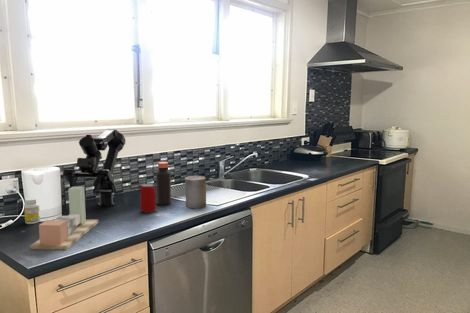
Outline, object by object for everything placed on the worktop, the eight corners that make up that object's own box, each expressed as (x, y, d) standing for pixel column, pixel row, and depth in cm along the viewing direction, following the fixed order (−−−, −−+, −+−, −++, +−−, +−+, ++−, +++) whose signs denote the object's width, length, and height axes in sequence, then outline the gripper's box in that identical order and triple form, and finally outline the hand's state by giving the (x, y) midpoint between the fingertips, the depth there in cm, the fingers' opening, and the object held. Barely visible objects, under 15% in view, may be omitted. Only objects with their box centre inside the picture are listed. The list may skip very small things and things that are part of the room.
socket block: (47, 238, 128) (46, 220, 127) (67, 238, 128) (66, 220, 127) (40, 244, 123) (38, 225, 123) (60, 244, 123) (59, 225, 122)
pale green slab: (74, 220, 147) (73, 186, 145) (85, 220, 147) (84, 186, 145) (53, 236, 130) (51, 197, 128) (65, 236, 130) (63, 197, 128)
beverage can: (149, 207, 171) (149, 182, 170) (159, 210, 167) (158, 184, 165) (137, 211, 166) (136, 184, 164) (146, 214, 162) (146, 187, 160)
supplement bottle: (35, 224, 147) (34, 200, 145) (22, 224, 147) (20, 200, 145) (42, 220, 152) (41, 197, 151) (29, 219, 152) (28, 197, 151)
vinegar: (173, 203, 179) (173, 162, 177) (162, 206, 174) (161, 164, 172) (165, 200, 184) (164, 161, 181) (153, 203, 179) (152, 162, 176)
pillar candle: (203, 202, 182) (202, 172, 180) (208, 207, 173) (208, 176, 171) (183, 204, 178) (182, 173, 176) (188, 209, 169) (187, 177, 167)
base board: (69, 222, 150) (68, 205, 149) (98, 222, 150) (97, 206, 149) (30, 249, 122) (28, 229, 121) (66, 249, 122) (65, 229, 121)
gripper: (63, 149, 151) (51, 181, 142) (108, 150, 151) (99, 182, 142) (72, 165, 160) (62, 196, 151) (115, 166, 160) (107, 197, 151)
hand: (82, 193), depth 148 cm, fingers open, 9 cm apart
